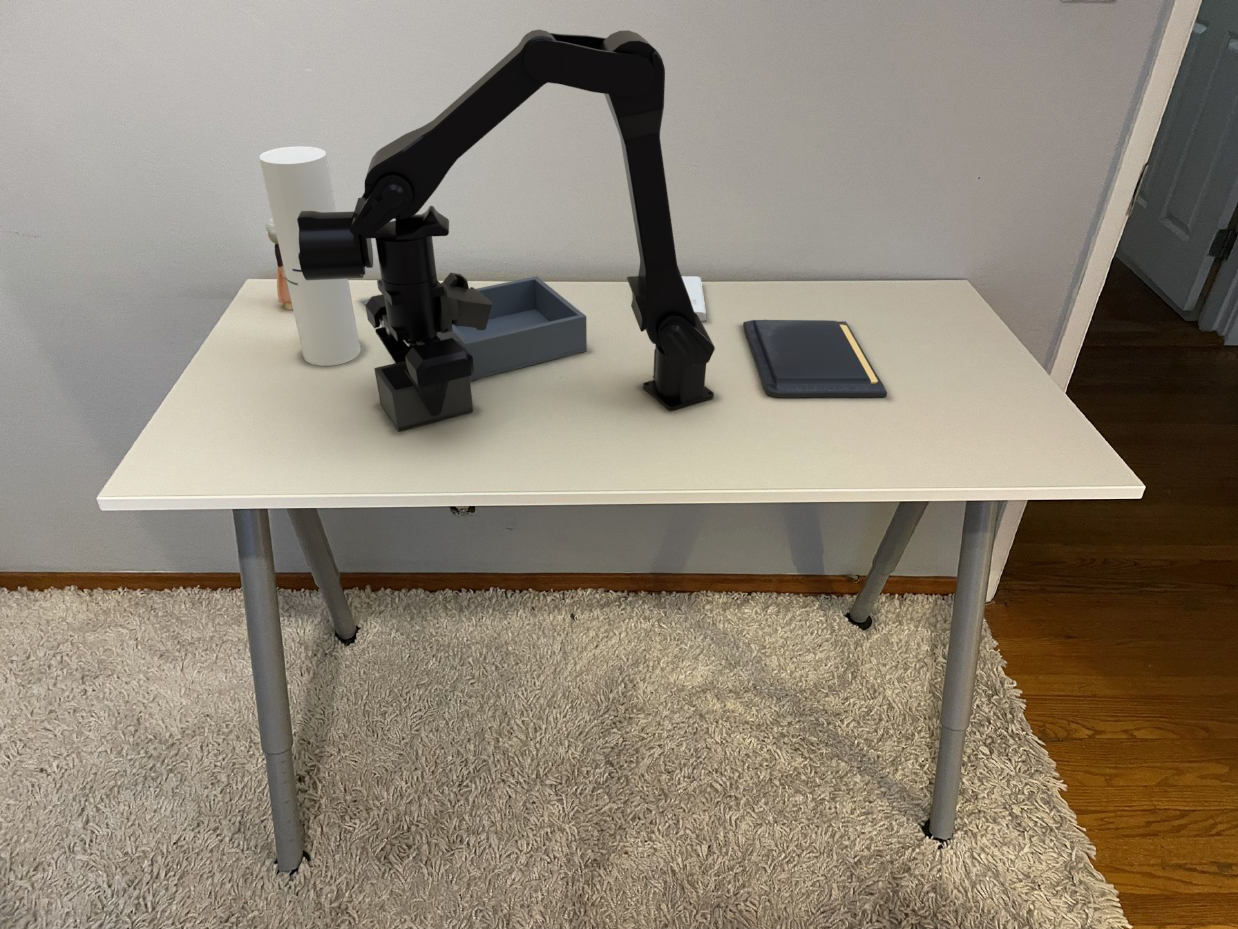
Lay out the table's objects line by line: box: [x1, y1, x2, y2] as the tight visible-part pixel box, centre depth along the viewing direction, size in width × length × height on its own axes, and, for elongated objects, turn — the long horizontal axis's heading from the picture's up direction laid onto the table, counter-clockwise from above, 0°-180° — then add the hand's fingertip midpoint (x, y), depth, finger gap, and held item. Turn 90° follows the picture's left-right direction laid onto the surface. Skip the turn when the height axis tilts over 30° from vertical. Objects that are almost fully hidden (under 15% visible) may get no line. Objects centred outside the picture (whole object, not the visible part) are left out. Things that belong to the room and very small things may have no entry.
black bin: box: [373, 361, 474, 433], centre depth 97 cm, size 7×9×5 cm
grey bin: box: [437, 275, 588, 382], centre depth 111 cm, size 15×17×5 cm
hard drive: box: [681, 275, 707, 322], centre depth 123 cm, size 2×8×12 cm
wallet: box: [742, 319, 888, 398], centre depth 110 cm, size 20×2×15 cm
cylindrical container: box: [258, 145, 362, 367], centre depth 102 cm, size 7×7×25 cm
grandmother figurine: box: [265, 216, 293, 311], centre depth 117 cm, size 8×4×13 cm, turn 25°
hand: (425, 401), depth 98 cm, fingers closed on black bin, 6 cm apart
